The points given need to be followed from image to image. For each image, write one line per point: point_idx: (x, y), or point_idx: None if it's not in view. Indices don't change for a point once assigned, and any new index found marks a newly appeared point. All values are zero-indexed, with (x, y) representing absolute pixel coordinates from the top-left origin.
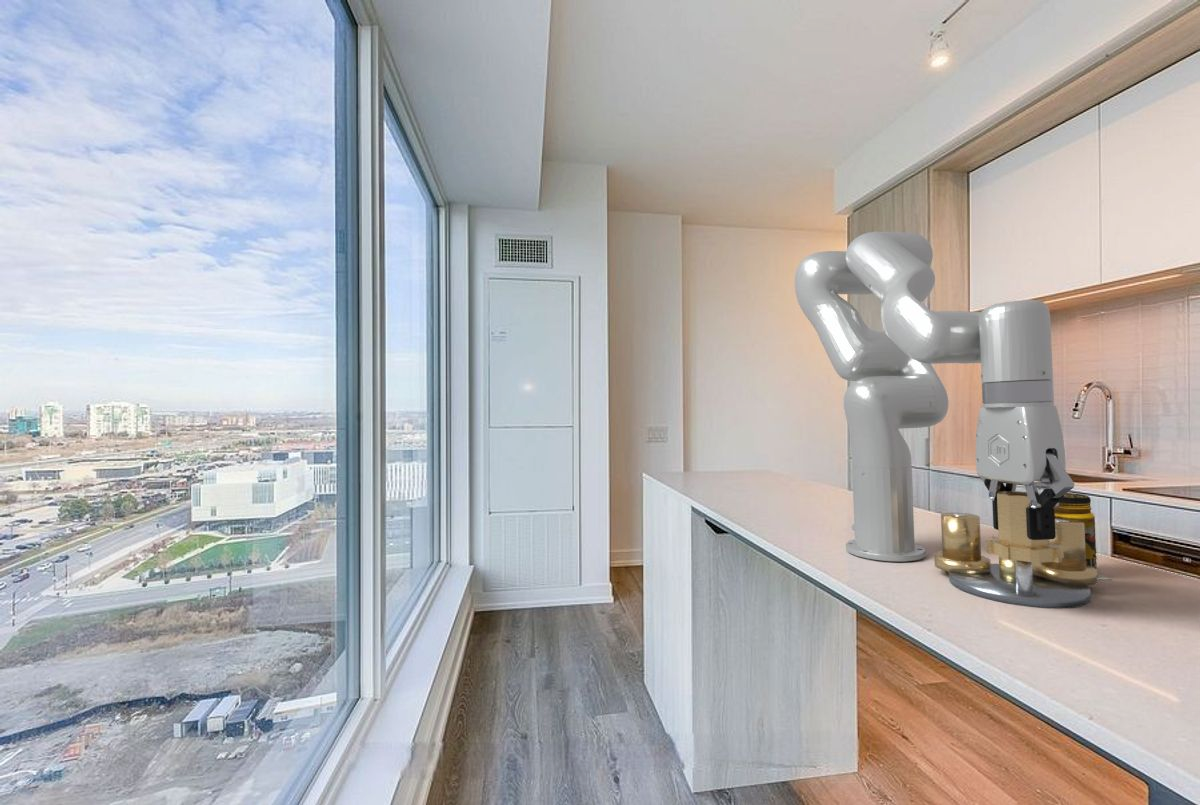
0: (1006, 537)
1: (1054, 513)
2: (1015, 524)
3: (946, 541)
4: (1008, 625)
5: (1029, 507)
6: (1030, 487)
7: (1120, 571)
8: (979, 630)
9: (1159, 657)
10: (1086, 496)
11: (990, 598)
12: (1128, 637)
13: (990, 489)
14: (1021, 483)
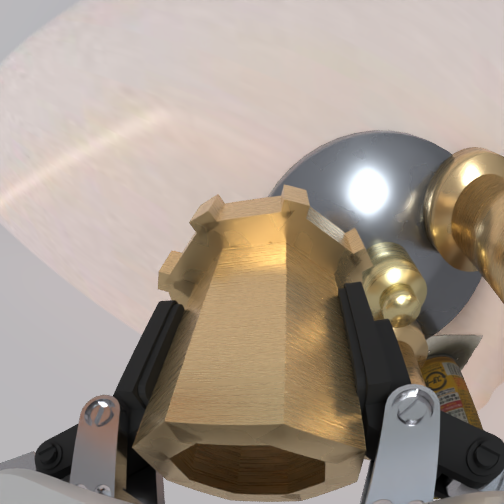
0: (241, 259)
1: None
2: (193, 312)
3: None
4: (142, 119)
5: (137, 401)
6: (80, 480)
7: None
8: (112, 59)
9: (74, 265)
10: (434, 498)
11: (299, 160)
12: (130, 277)
13: (430, 435)
14: (33, 474)
